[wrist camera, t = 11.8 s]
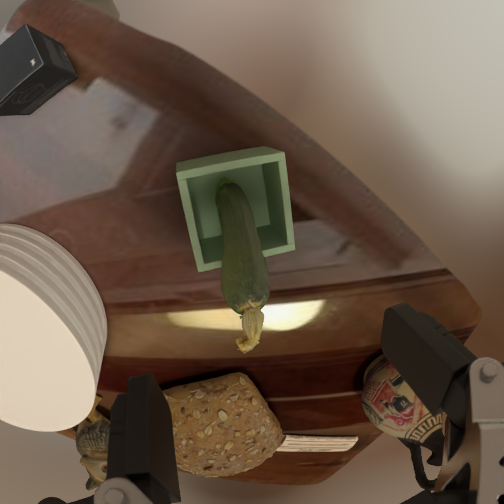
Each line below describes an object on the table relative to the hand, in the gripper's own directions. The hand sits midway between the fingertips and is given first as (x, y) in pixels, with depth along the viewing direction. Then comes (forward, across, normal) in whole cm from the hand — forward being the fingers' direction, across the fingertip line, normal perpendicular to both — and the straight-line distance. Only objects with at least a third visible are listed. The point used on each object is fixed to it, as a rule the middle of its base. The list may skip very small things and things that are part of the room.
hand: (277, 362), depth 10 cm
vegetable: (+30, -3, +1) cm, 30 cm away
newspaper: (+30, -12, +65) cm, 72 cm away
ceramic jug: (+30, -27, +44) cm, 59 cm away
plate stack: (+30, +31, +12) cm, 45 cm away
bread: (+30, +7, +40) cm, 51 cm away
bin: (+30, -3, +2) cm, 30 cm away
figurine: (+30, +28, +37) cm, 56 cm away
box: (+30, +16, -18) cm, 39 cm away
